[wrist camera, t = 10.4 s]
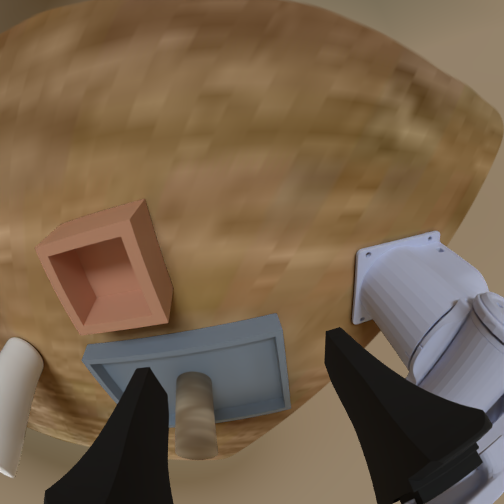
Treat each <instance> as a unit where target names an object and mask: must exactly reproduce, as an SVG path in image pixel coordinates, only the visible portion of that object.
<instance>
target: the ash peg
mask: <svg viewBox="0 0 504 504" xmlns="http://www.w3.org/2000/svg"><path fill="white" fill-rule="evenodd" d="M175 453H176V454H177V455H178V456H180V457H182V458H186V459H192V460H204V459H210V458H213V457H215V456H217V455H218V448H217V438H216V428H215V417H214V406H213V393H212V381H211V379H210V377H209V376H207V375H206V374H204V373H201V372H194V371H192V372H185V373H182V374H180V375H179V376H178V377H177V380H176V409H175Z"/></svg>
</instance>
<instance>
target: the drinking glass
mask: <svg viewBox="0 0 504 504" xmlns="http://www.w3.org/2000/svg"><path fill="white" fill-rule="evenodd" d="M43 367H44V364H43V360H42V357H41V356H40V354H39V353H38V351H37V350H36V349H35V348H34V347H33V346H32V345H31V344H29V343H28V342H27V341H25V340H23V339H21V338H17V337H12V338H10V339H8V341H7V342H6V344H5V345H4V347H3V349H2V350H1V352H0V472H1V473H3V474H5V475H7V476H9V477H11V478H15V477H16V472H17V469H18V465H19V461H20V457H21V453H22V448H23V443H24V438H25V433H26V428H27V423H28V418H29V414H30V410H31V405H32V401H33V398H34V394H35V390H36V387H37V384H38V380H39V378H40V375H41V373H42V371H43Z"/></svg>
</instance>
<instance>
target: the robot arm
mask: <svg viewBox="0 0 504 504" xmlns="http://www.w3.org/2000/svg"><path fill="white" fill-rule="evenodd" d="M428 238H429V239H428ZM439 240H440V233H439V232H438V231H432V232H428V233H424V234H420V235H416V236H412V237H408V238H404V239H400V240H396V241H392V242H388V243H384V244H380V245H376V246H371V247H367V248H363V249H360V250H359V251H358V252H357V254H356V269H355V286H354V300H353V312H352V322H353V324H355V325H356V324H360V323H363V322H366V321H369V320H372V319H373V320H374V322H375V323H376V324H377V326H378V327H379V329H380V330H381V331H382V333H383V334H384V336H385V337H386V338H387V340H388V341H389V342H390V344H391V345H392V347H393V348H394V350H395V351H396V352H397V354H398V356H399V357H400V358H401V360H402V361H403V363H404V364H405V366H406V367H407V369H408V370H409V374H408V375H407V377H406V378H403V377H401V376H400V375H399V374H397V373H396V372H394V371H393V370H391V369H390V368H388V367H387V366H386V365H384V364H383V363H382V362H380V361H379V360H378V359H376V358H375V357H374V356H373V355H371V354H370V353H369V352H368V351H366V350H365V349H364V348H363V347H362V346H361V345H360V344H358V343H357V342H356V341H355V340H354V339H353V338H352V337H351V336H350V335H348V334H347V333H346V332H345V331H344V330H343V329H342V328H340V327H339V328H336V329H332V330H329V331H326V340H325V362H324V363H325V366H326V368H327V371H328V374H329V377H330V379H331V382H332V384H333V386H334V388H335V390H336V392H337V394H338V396H339V398H340V400H341V402H342V404H343V406H344V408H345V410H346V412H347V414H348V416H349V418H350V420H351V422H352V424H353V426H354V428H355V431H356V433H357V436H358V439H359V442H360V444H361V447H362V450H363V453H364V456H365V459H366V462H367V466H368V469H369V472H370V476H371V479H372V483H373V487H374V491H375V495H376V500H377V504H393V503H395V502H397V501H399V500H400V502H401V504H493V503H494V502H495V501H496V500H497V499H498V498H499V497H500V496H501V495H502V493H503V492H504V298H503V297H502V296H500V295H498V294H496V293H493V292H489V290H488V287H487V284H486V282H485V280H484V278H483V276H482V275H481V273H480V272H479V271H478V270H477V269H476V268H475V267H473V266H472V265H471V264H469V263H468V262H467V261H465V260H464V259H463V258H461V257H460V256H458V255H457V254H456V253H454V252H453V251H452V250H450V249H449V248H448V247H446V246H445V245H443V244H442V243H440V242H439ZM368 252H369V254H368V255H366V254H367V253H368ZM168 433H169V406H168V394H167V393H166V391H165V390H164V388H163V387H162V385H161V384H160V382H159V381H158V379H157V378H156V376H155V375H154V373H153V371H152V370H151V368H150V367H144V368H136V370H135V372H134V374H133V375H132V377H131V379H130V381H129V383H128V385H127V387H126V389H125V391H124V393H123V395H122V396H121V398H120V400H119V402H118V404H117V406H116V408H115V409H114V411H113V413H112V415H111V416H110V418H109V420H108V421H107V423H106V425H105V426H104V428H103V430H102V431H101V433H100V434H99V436H98V437H97V439H96V440H95V441H94V443H93V444H92V446H91V447H90V448H89V449H88V451H87V452H86V453H85V454H84V455H83V457H82V458H81V459H80V460H79V461H78V463H77V464H76V465H75V466H74V467H73V468H72V469H71V470H70V471H69V472H68V473H67V474H66V475H65V476H63V477H62V478H61V479H60V480H59V481H57V482H56V483H55V484H54V485H52V486H51V487H50V488H49V489H47V490H46V491H45V497H44V504H173V499H172V494H171V488H170V481H169V472H168Z"/></svg>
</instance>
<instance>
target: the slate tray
mask: <svg viewBox="0 0 504 504" xmlns="http://www.w3.org/2000/svg"><path fill="white" fill-rule="evenodd" d="M82 362H83V363H84V364H85V366H86V367H87V368H88V370H89V371H90V372H91V373H92V375H93V376H94V377H95V379H96V380H97V381H98V382H99V383H100V385H101V386H102V387H103V388H104V390H105V391H106V392H107V393H108V394H109V395H110V397H111V398H112V399H113V400H114V401H115V402H116V403H117V404H118V402H119V400H120V398H121V396H122V395H123V393H124V391H125V389H126V387H127V385H128V383H129V381H130V379H131V377H132V375H133V374H134V372H135V370H136V368H144V367H150V368H151V370H152V371H153V373H154V375H155V376H156V378H157V379H158V381H159V382H160V384H161V385H162V387H163V388H164V390H165V391H166V393H167V394H168V406H169V428H171V427H175V409H176V380H177V377H178V376H179V375H180V374H182V373H185V372H192V371H194V372H201V373H204V374H206V375H207V376H209V377H210V379H211V381H212V393H213V406H214V417H215V423H220V422H227V421H233V420H239V419H245V418H250V417H256V416H261V415H265V414H270V413H275V412H279V411H283V410H287V409H291V403H290V393H289V384H288V374H287V365H286V356H285V347H284V339H283V330H282V327H281V324H280V321H279V318H278V316H277V313H275V314H270V315H266V316H262V317H257V318H252V319H248V320H243V321H238V322H233V323H228V324H223V325H218V326H213V327H207V328H202V329H196V330H191V331H185V332H179V333H173V334H166V335H160V336H153V337H146V338H139V339H132V340H124V341H116V342H108V343H99V344H89V345H87V347H86V350H85V353H84V355H83V358H82Z"/></svg>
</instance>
